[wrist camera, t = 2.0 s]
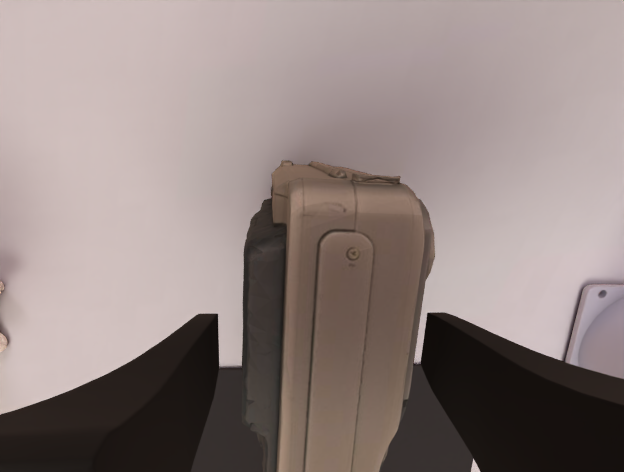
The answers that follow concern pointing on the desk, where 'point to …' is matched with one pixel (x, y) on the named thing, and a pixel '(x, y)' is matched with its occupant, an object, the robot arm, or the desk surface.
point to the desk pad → (401, 451)
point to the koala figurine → (0, 339)
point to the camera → (331, 316)
